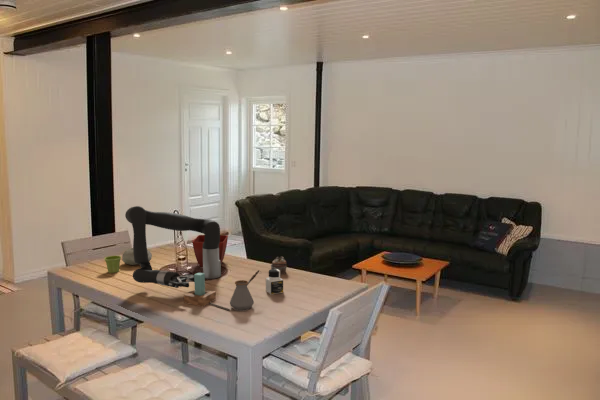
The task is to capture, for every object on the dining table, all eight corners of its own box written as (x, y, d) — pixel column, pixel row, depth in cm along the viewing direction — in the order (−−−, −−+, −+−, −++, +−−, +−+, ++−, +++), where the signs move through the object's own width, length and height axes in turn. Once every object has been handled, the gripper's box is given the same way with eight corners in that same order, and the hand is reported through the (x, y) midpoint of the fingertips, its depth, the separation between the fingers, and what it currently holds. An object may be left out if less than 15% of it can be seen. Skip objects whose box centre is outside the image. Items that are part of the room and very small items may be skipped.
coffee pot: (244, 314, 227) (244, 283, 225) (224, 309, 233) (224, 279, 231) (269, 300, 246) (269, 271, 244) (250, 296, 251) (250, 268, 249)
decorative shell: (144, 258, 323) (144, 243, 321) (157, 264, 310) (156, 248, 308) (117, 263, 311) (117, 248, 309) (129, 269, 298) (129, 253, 296)
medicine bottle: (271, 294, 254) (270, 272, 252) (265, 290, 260) (265, 268, 258) (283, 292, 257) (283, 270, 255) (277, 288, 263) (277, 267, 262)
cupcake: (284, 270, 298) (284, 254, 296) (288, 274, 289) (288, 258, 287) (268, 271, 295) (268, 255, 293) (273, 276, 286) (273, 259, 284)
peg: (199, 299, 247) (198, 272, 245) (205, 300, 245) (204, 273, 243) (194, 301, 243) (194, 274, 241) (200, 302, 242) (200, 275, 240)
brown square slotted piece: (197, 296, 251) (197, 288, 251) (215, 299, 247) (215, 291, 246) (184, 302, 242) (184, 295, 241) (202, 306, 237) (202, 298, 236)
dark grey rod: (208, 304, 240) (208, 302, 240) (210, 303, 241) (209, 302, 240) (229, 311, 231) (228, 309, 231) (230, 310, 232) (230, 308, 232)
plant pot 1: (116, 274, 288) (115, 260, 286) (101, 273, 290) (101, 259, 288) (125, 270, 297) (124, 256, 295) (110, 269, 299) (110, 255, 297)
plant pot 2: (223, 268, 300) (223, 241, 298) (192, 268, 301) (191, 241, 298) (228, 260, 319) (228, 235, 317) (199, 260, 320) (198, 234, 317)
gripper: (158, 275, 244) (184, 279, 238) (176, 267, 257) (202, 271, 250) (158, 289, 245) (185, 294, 239) (177, 281, 258) (202, 285, 251)
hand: (193, 282), depth 244 cm, fingers open, 8 cm apart
